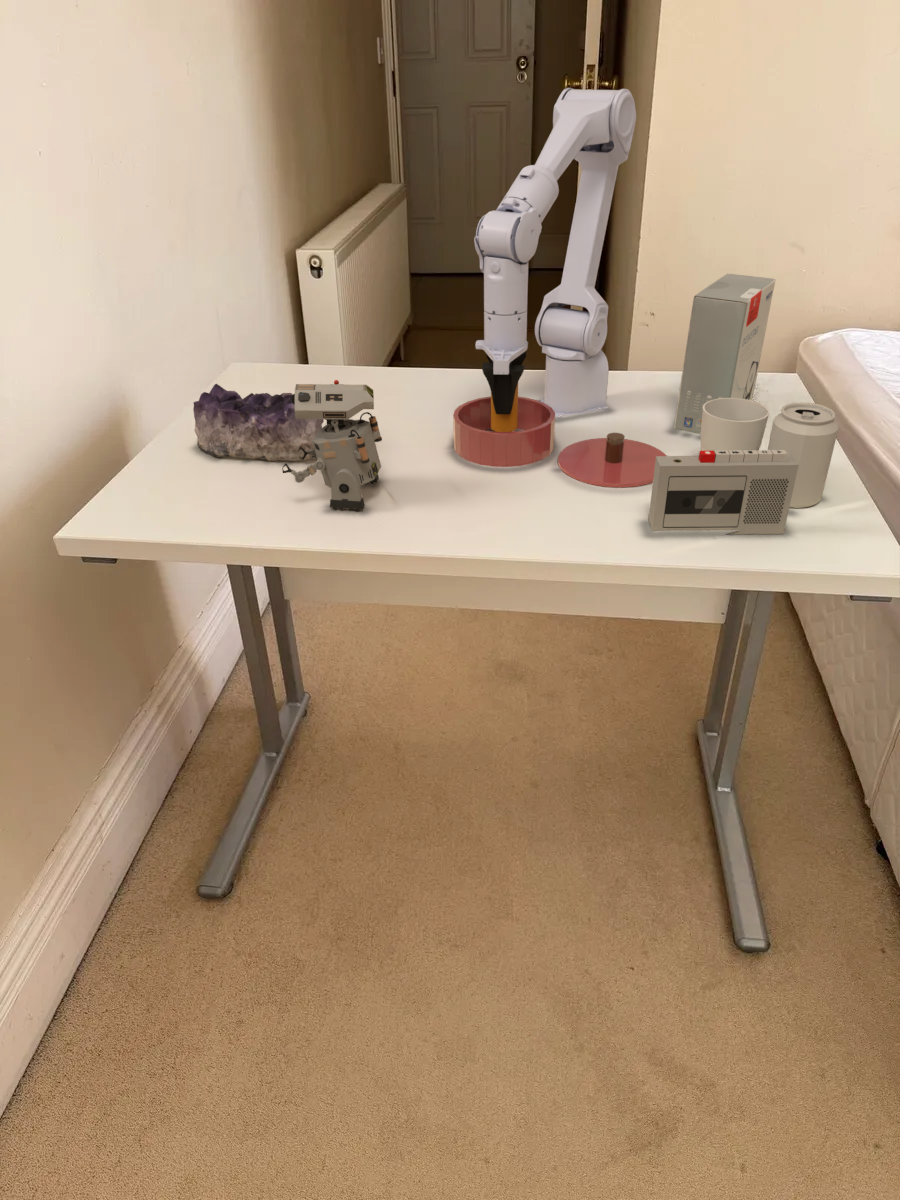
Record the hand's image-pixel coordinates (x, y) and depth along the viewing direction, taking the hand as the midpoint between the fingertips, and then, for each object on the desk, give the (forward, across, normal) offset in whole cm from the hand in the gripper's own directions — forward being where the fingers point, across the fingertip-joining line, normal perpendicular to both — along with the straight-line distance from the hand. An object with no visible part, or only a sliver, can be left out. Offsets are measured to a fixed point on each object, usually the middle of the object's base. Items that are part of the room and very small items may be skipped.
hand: (504, 407), depth 122 cm
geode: (+6, +3, -35) cm, 36 cm away
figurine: (+6, +16, -21) cm, 27 cm away
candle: (+3, 0, 0) cm, 3 cm away
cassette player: (+6, +22, +27) cm, 35 cm away
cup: (+6, +8, +30) cm, 32 cm away
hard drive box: (+7, -14, +31) cm, 35 cm away
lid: (+6, +5, +16) cm, 17 cm away
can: (+6, +13, +38) cm, 40 cm away
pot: (+6, 0, 0) cm, 6 cm away
